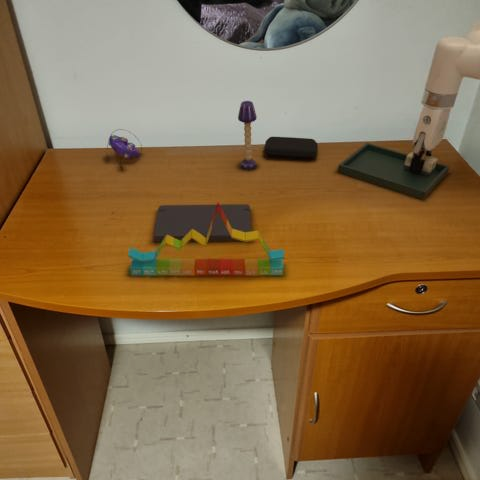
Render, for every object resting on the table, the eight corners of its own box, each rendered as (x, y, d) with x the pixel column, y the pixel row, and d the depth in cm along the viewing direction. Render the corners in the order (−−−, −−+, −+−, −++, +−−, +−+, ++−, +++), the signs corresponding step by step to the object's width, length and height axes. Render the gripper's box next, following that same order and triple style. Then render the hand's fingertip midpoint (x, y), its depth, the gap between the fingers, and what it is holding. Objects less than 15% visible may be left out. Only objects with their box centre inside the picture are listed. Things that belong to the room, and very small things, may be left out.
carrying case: (317, 145, 139) (266, 142, 140) (318, 135, 137) (266, 132, 138) (316, 162, 131) (262, 159, 133) (317, 152, 129) (263, 148, 130)
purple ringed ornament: (152, 143, 131) (126, 149, 124) (145, 169, 136) (120, 176, 129) (125, 123, 133) (99, 129, 126) (119, 150, 138) (93, 156, 131)
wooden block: (433, 171, 126) (437, 158, 124) (428, 176, 124) (432, 163, 122) (408, 163, 129) (412, 151, 127) (403, 168, 127) (406, 155, 125)
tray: (447, 173, 127) (449, 166, 125) (423, 200, 117) (425, 192, 116) (365, 149, 137) (367, 142, 136) (337, 172, 127) (338, 164, 126)
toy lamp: (243, 171, 128) (243, 107, 116) (235, 164, 130) (234, 101, 119) (259, 167, 129) (261, 103, 118) (250, 160, 132) (251, 97, 120)
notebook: (154, 242, 105) (251, 240, 105) (153, 236, 104) (251, 234, 104) (159, 210, 114) (249, 209, 114) (158, 205, 113) (249, 204, 113)
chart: (131, 276, 96) (118, 210, 86) (133, 266, 99) (121, 201, 88) (282, 276, 96) (288, 210, 86) (281, 266, 99) (287, 201, 88)
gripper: (442, 112, 108) (419, 186, 121) (466, 91, 117) (443, 162, 130) (410, 104, 111) (391, 177, 124) (436, 84, 120) (416, 154, 133)
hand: (418, 169), depth 127 cm, fingers closed on wooden block, 3 cm apart
